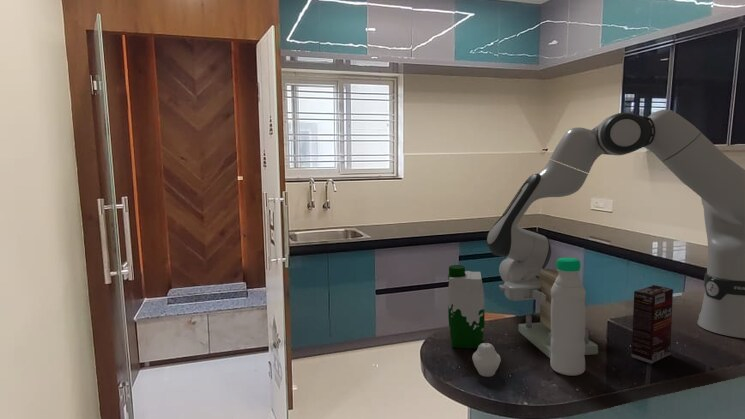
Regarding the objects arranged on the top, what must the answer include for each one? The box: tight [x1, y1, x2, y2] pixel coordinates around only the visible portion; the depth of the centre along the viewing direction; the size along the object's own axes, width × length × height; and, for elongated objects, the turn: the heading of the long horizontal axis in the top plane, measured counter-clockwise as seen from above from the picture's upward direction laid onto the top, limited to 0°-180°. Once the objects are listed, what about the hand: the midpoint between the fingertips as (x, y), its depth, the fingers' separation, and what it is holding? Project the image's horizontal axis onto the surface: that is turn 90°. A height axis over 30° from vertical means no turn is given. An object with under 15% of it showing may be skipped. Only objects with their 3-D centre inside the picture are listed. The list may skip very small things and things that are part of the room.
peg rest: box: [518, 314, 599, 359], centre depth 115 cm, size 12×17×5 cm
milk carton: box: [447, 264, 485, 350], centre depth 116 cm, size 9×9×20 cm
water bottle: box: [549, 257, 587, 377], centre depth 99 cm, size 7×7×25 cm
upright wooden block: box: [539, 268, 559, 330], centre depth 114 cm, size 4×8×14 cm, turn 6°
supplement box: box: [631, 284, 674, 365], centre depth 104 cm, size 9×5×16 cm, turn 122°
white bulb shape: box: [471, 342, 502, 378], centre depth 100 cm, size 6×6×7 cm
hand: (557, 297), depth 113 cm, fingers closed on upright wooden block, 4 cm apart
